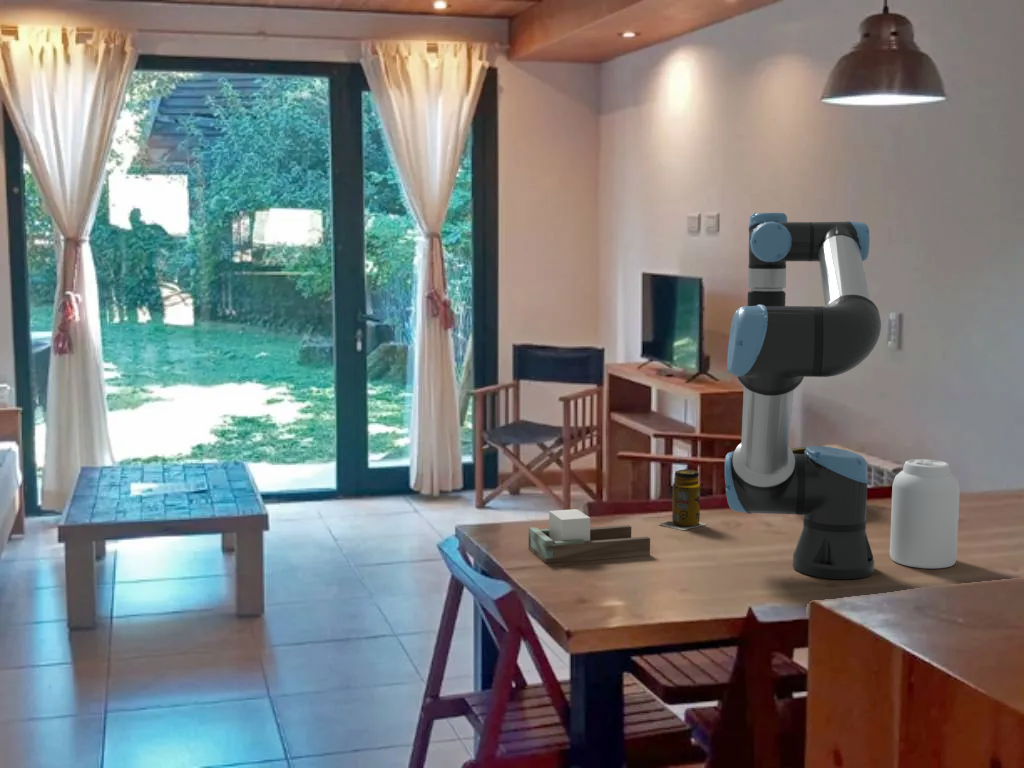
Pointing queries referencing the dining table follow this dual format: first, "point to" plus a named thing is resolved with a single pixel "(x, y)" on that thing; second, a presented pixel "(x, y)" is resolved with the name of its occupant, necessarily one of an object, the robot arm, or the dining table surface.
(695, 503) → the condiment
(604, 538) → the walnut chute
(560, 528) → the cream block
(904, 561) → the can
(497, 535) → the dining table surface
